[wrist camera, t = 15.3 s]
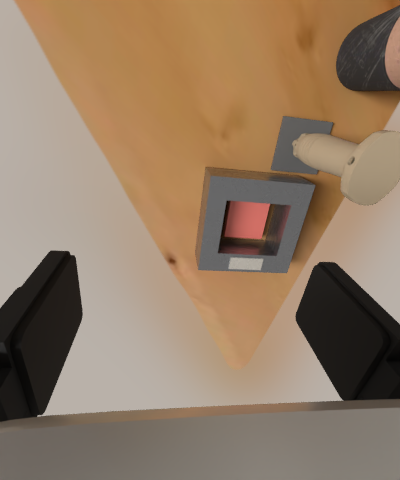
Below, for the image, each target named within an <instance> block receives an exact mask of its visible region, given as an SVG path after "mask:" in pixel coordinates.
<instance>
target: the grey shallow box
mask: <svg viewBox="0 0 400 480" xmlns="http://www.w3.org/2000/svg"><path fill="white" fill-rule="evenodd" d="M314 188H315V184H313V183H311V182H309V181H307V180H306V179H304V178H302V177H300V176H297V175H287V174H276V173H265V172H255V171H244V170H234V169H223V168H212V167H206V168H205V176H204V185H203V193H202V201H201V209H200V217H199V226H198V234H197V242H196V250H195V255H196V260H197V266H198V270H213V271H242V272H271V273H287V272H288V268H289V265H290V262H291V259H292V256H293V253H294V250H295V247H296V244H297V241H298V238H299V235H300V231H301V228H302V225H303V222H304V219H305V216H306V213H307V210H308V207H309V204H310V201H311V198H312V195H313V191H314ZM227 200H228V201H241V202H254V203H267V204H275V206H274V210H273V214H272V218H271V221H270V225H269V229H268V233H267V237H266V240H251V239H233V238H220V236H221V231H222V225H223V219H224V213H225V207H226V201H227Z"/></svg>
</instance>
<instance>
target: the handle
mask: <svg viewBox="0 0 400 480" xmlns="http://www.w3.org/2000/svg"><path fill="white" fill-rule="evenodd" d="M292 145H293V155H294V156H295V157H296V158H299V159H300V160H301V161H302V162H303V163H305V164H306V165H308V166H310V167H312V168H314V169H317V170H320V171H323V172H327V173H330V174H333V175H336V176H339V177H342V178H341V192H342V194H343V195H344V196H345V197H346V198H348V199H349V200H351V201H353V202H355V203H357V204H360V205H373V204H376V203H377V202H378V201H379V200H381V199H382V198H383V197H385V196H386V195H387V194H388V193H389V192H390V191H391V190H392V189H393V188H394V187H395V186H396V184H397V183H398V181H399V180H400V132H396V131H387V130H382V131H377V132H374V133H372V134H371V135H370V136H368V137H367V138H366V139H365V140H364V141H363V142H361V143H360V144H356V143H353V142H350V141H347V140H344V139H341V138H338V137H335V136H332V135H327V134H320V133H313V134H308V133H304V134H301V136H300V137H299V138H298V139H296V140H294V141H293V143H292Z"/></svg>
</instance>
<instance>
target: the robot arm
mask: <svg viewBox="0 0 400 480" xmlns="http://www.w3.org/2000/svg"><path fill="white" fill-rule="evenodd" d="M81 320H82V305H81V296H80V288H79V280H78V272H77V264H76V258H75V256H74V255H70V252H68V251H50V252H49V253H48V254H47V255H46V257H45V258H44V259H43V260H42V262H41V263H40V264H39V265H38V267H37V268H36V269H35V270H34V272H33V273H32V274H31V275H30V277H29V278H28V279H27V280H26V282H25V283H24V284H23V285H22V287H19V288H17V289H16V290H15V291H14V292H13V294H12V295H11V296H10V297H9V298H8V300H7V301H6V302H5V303H4V305H3V306H2V307H1V308H0V480H400V324H399V323H398V322H397V321H396V320H395V319H394V318H393V317H392V316H390V315H389V314H388V313H387V312H386V311H385V310H384V309H383V308H382V307H381V306H380V305H379V304H378V303H377V302H376V301H375V300H374V299H373V298H372V297H371V296H370V295H369V294H367V293H366V292H365V291H364V290H363V289H362V288H361V287H360V286H359V285H358V284H357V283H356V282H355V281H354V280H353V279H352V278H351V277H350V276H349V275H348V274H347V273H345V271H344V270H343V269H341V268H340V267H339V266H338V265H337V264H336V263H333V262H319V263H318V265H316V266H314V268H313V270H312V273H311V275H310V278H309V281H308V283H307V286H306V289H305V291H304V294H303V297H302V299H301V302H300V304H299V307H298V310H297V312H296V321H297V324H298V325H299V327H300V329H301V331H302V332H303V334H304V336H305V337H306V339H307V341H308V343H309V344H310V346H311V348H312V349H313V351H314V353H315V354H316V356H317V358H318V360H319V361H320V363H321V365H322V366H323V368H324V370H325V372H326V374H327V375H328V377H329V379H330V380H331V382H332V384H333V385H334V387H335V389H336V390H337V392H338V394H339V396H340V397H341V398H342V400H344V401H327V402H301V403H278V404H255V405H233V406H211V407H190V408H170V409H150V410H130V411H111V412H96V413H81V414H68V415H67V414H66V415H52V416H41V417H37V415H42V414H43V413H44V412H45V410H46V408H47V405H48V403H49V400H50V398H51V395H52V393H53V390H54V388H55V385H56V383H57V380H58V378H59V375H60V373H61V371H62V368H63V366H64V363H65V361H66V358H67V356H68V353H69V351H70V348H71V345H72V343H73V340H74V338H75V336H76V333H77V331H78V328H79V325H80V323H81Z"/></svg>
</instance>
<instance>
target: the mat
mask: <svg viewBox="0 0 400 480" xmlns="http://www.w3.org/2000/svg"><path fill="white" fill-rule="evenodd" d="M332 125H333V122H325V121H317V120H309V119H302V118H294V117H286V116H283V120H282V124H281V128H280V132H279V137H278V141H277V145H276V149H275V154H274V158H273V162H272V166H271V170H276V171H286V172H297V173H307V174H317V172H318V170H317V169H314V168H312V167H310V166H308V165H306V164H305V163H303V162H302V161H301V160H300V159H299V158H296V157H295V156H294V155H293V145H292V143H293V141H294V140H296V139H298V138H299V137H300V136H301V134H304V133H308V134H313V133H320V134H327V135H329V134H330V131H331V128H332Z"/></svg>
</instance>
